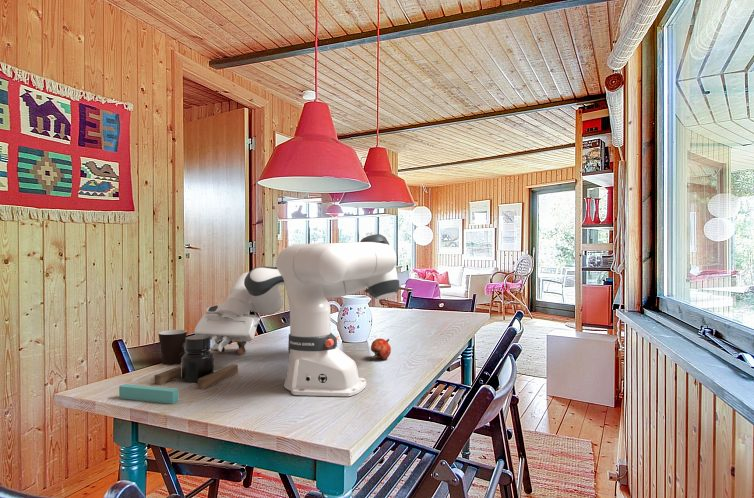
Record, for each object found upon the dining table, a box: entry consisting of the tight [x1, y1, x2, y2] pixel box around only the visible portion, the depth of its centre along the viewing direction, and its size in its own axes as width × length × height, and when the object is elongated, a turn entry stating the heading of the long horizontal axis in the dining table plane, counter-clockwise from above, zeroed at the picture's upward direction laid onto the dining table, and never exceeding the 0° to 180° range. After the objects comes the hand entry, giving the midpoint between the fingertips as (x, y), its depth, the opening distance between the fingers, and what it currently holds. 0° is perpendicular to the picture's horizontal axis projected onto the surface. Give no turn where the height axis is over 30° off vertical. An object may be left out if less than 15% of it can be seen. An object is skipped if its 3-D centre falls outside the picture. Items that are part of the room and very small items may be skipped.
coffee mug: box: [158, 329, 188, 366], centre depth 151 cm, size 12×9×10 cm
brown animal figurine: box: [217, 340, 247, 356], centre depth 163 cm, size 12×10×8 cm
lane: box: [154, 364, 239, 390], centre depth 131 cm, size 16×16×2 cm
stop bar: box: [118, 383, 179, 405], centre depth 112 cm, size 16×2×3 cm, turn 74°
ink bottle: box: [180, 334, 215, 383], centre depth 131 cm, size 10×9×12 cm
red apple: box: [369, 338, 392, 361], centre depth 153 cm, size 7×7×10 cm
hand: (215, 350), depth 139 cm, fingers closed
